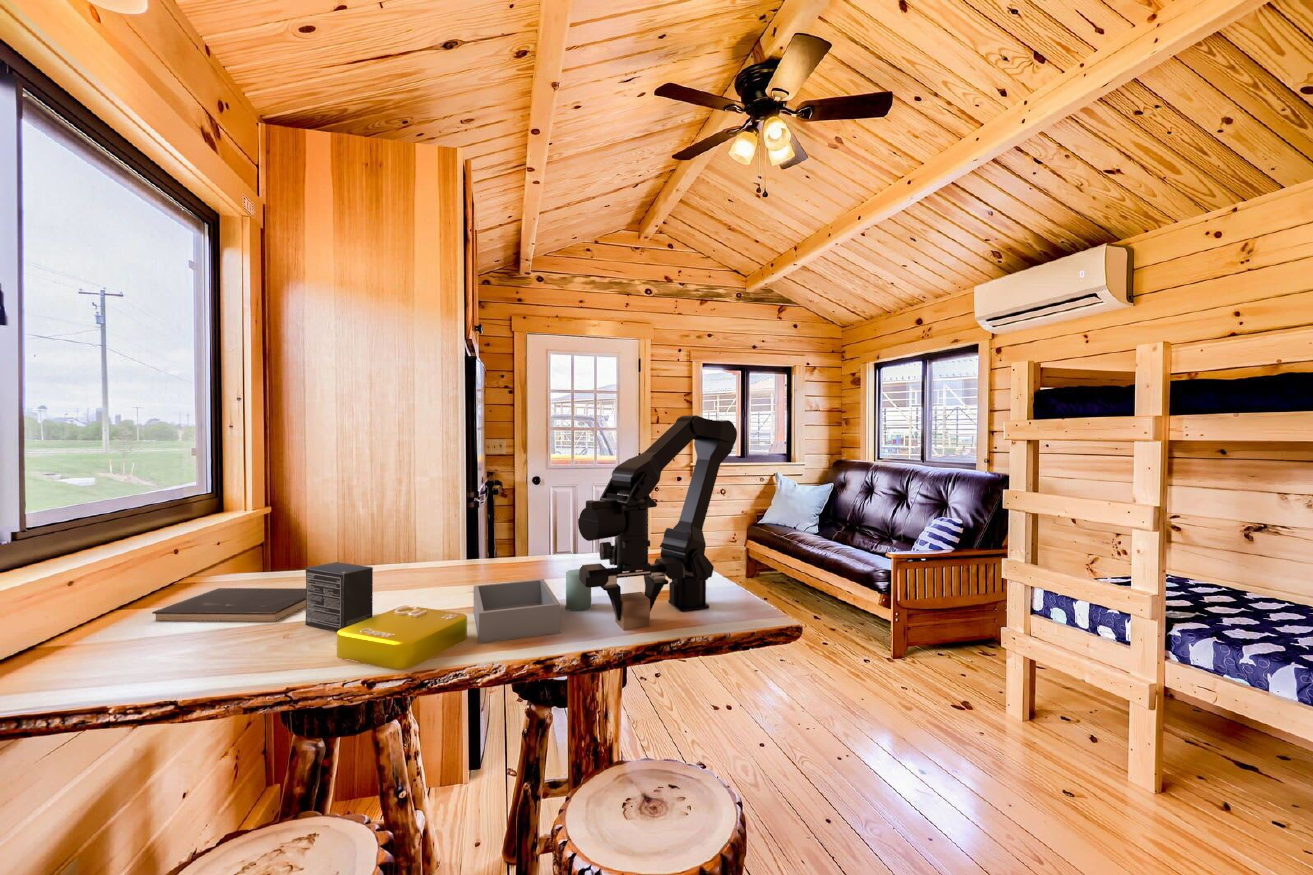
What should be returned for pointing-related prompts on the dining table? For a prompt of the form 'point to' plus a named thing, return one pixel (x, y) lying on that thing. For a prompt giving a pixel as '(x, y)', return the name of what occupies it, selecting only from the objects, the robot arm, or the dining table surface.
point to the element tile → (401, 637)
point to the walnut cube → (634, 611)
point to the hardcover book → (237, 605)
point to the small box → (338, 595)
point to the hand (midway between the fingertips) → (632, 618)
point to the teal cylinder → (576, 592)
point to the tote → (515, 610)
